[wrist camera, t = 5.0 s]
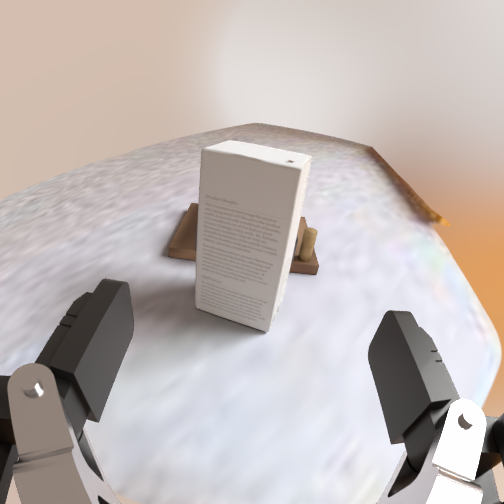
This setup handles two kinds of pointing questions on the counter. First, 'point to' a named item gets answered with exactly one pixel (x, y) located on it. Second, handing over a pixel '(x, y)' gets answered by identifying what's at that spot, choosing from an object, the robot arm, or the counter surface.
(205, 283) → the skincare box
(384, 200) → the counter surface
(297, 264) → the locating plate
